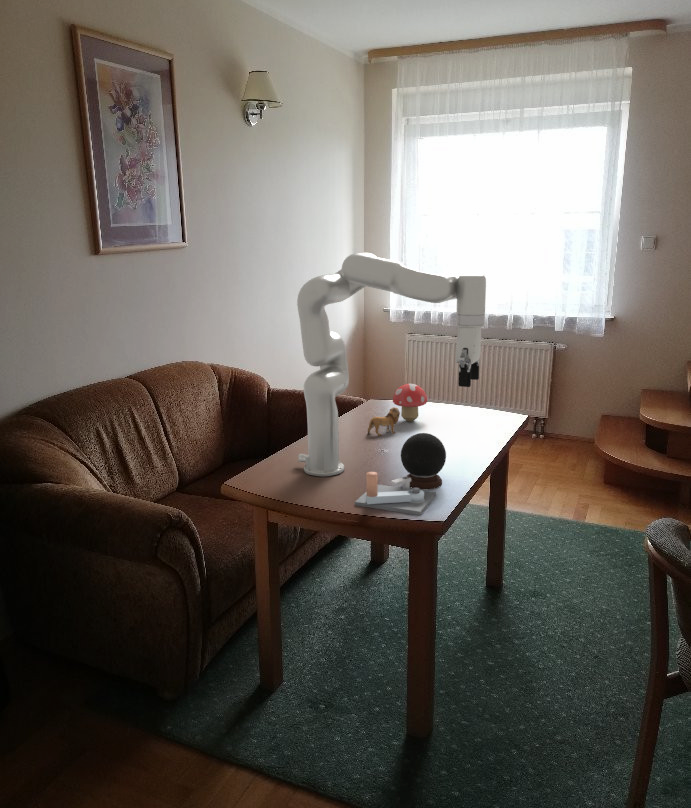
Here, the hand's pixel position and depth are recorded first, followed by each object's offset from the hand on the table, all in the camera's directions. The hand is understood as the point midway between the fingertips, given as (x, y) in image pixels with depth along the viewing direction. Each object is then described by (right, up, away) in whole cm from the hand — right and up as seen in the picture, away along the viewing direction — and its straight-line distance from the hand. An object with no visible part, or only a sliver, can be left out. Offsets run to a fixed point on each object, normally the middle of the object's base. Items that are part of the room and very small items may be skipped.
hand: (468, 382), depth 186 cm
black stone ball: (-11, -29, +13) cm, 34 cm away
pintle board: (-20, -32, 0) cm, 38 cm away
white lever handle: (-20, -32, -3) cm, 38 cm away
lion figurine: (-20, -17, +64) cm, 69 cm away
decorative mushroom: (-9, -13, +78) cm, 80 cm away
